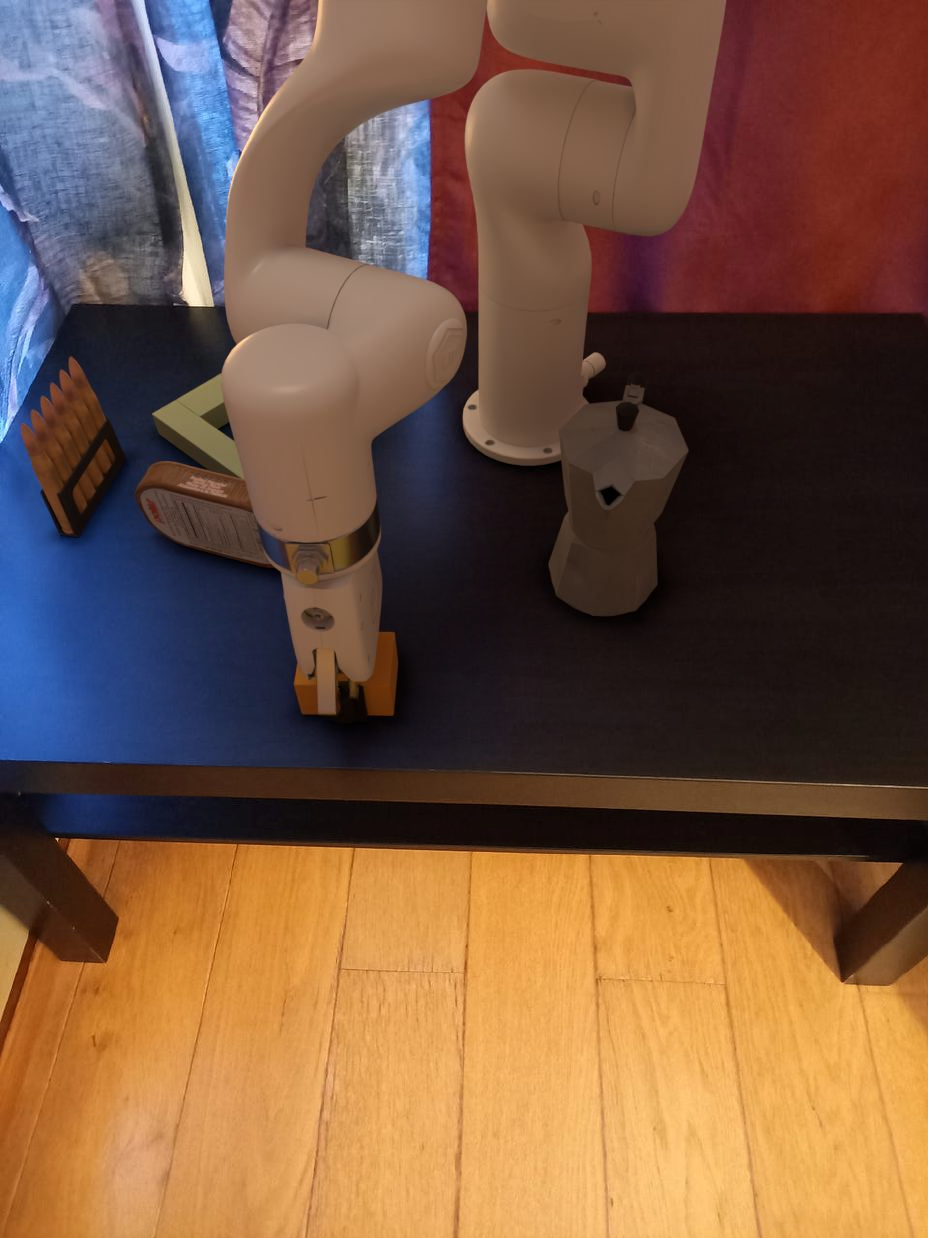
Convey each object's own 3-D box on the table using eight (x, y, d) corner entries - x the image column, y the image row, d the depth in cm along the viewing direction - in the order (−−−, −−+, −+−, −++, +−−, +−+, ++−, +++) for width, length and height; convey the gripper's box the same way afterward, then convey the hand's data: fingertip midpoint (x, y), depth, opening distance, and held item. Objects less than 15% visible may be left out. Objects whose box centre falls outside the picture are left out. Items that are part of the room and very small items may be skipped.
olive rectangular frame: (297, 350, 100) (294, 330, 98) (390, 406, 94) (388, 386, 92) (158, 433, 92) (151, 413, 90) (250, 500, 86) (244, 480, 84)
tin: (316, 557, 81) (301, 486, 75) (300, 584, 80) (284, 513, 73) (164, 518, 85) (137, 446, 78) (145, 543, 83) (116, 471, 76)
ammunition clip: (78, 538, 83) (27, 432, 74) (59, 535, 83) (6, 430, 74) (126, 457, 90) (85, 351, 80) (108, 455, 90) (65, 349, 81)
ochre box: (301, 714, 71) (293, 684, 68) (310, 661, 74) (302, 630, 71) (393, 716, 71) (389, 686, 68) (398, 662, 74) (394, 631, 71)
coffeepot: (646, 648, 75) (684, 480, 61) (530, 625, 76) (541, 457, 62) (670, 514, 84) (709, 342, 70) (567, 496, 86) (583, 325, 72)
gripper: (366, 629, 53) (390, 785, 67) (389, 430, 64) (406, 602, 78) (234, 627, 53) (286, 783, 67) (279, 429, 64) (316, 601, 78)
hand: (350, 684), depth 72 cm, fingers closed on ochre box, 5 cm apart
